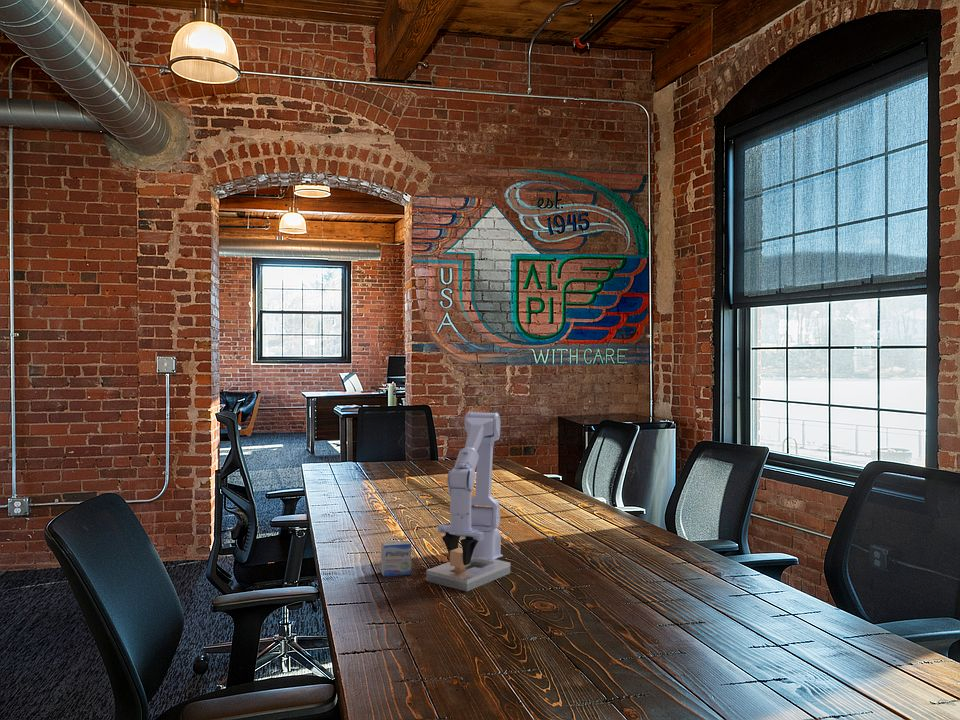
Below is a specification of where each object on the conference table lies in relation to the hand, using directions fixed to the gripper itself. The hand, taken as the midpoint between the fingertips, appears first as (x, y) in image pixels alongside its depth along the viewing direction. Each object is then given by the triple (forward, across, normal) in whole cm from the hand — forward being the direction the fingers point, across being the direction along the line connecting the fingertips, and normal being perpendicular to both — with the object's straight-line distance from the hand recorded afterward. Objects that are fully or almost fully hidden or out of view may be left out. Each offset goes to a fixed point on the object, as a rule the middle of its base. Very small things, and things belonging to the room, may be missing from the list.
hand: (460, 562), depth 204 cm
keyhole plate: (+5, 0, +4) cm, 6 cm away
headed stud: (+5, 0, 0) cm, 5 cm away
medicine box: (+5, -18, -6) cm, 20 cm away
